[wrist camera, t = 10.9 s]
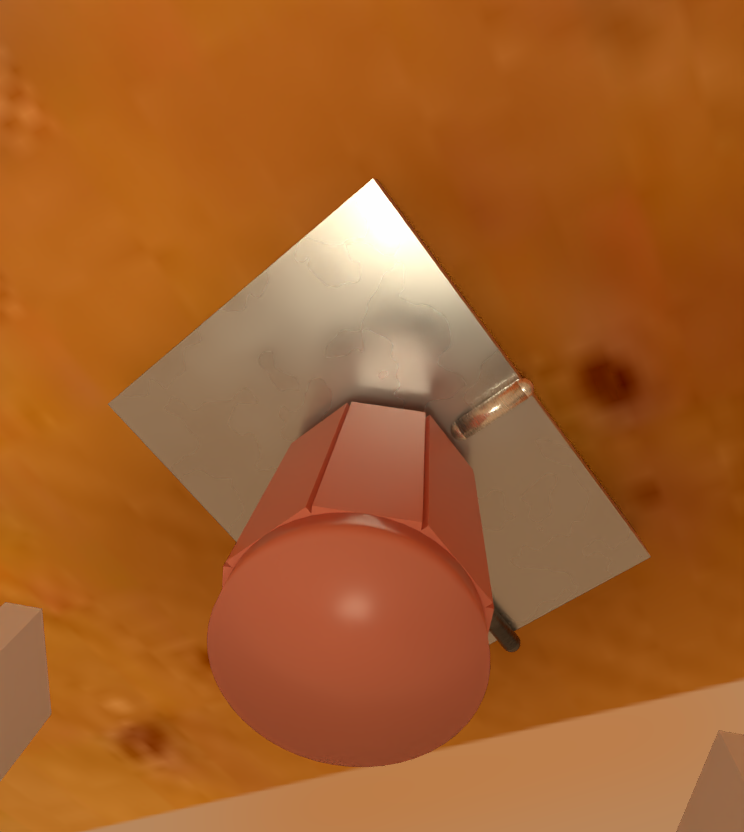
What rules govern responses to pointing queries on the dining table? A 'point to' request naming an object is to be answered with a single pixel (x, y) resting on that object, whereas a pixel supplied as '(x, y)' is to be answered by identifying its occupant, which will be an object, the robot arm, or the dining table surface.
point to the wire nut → (358, 594)
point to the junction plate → (381, 402)
